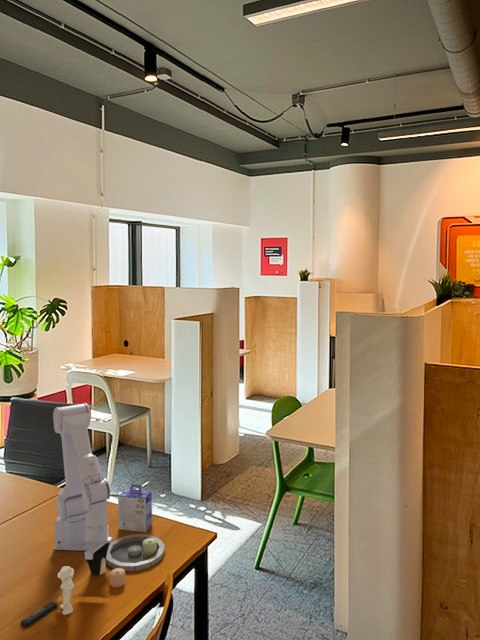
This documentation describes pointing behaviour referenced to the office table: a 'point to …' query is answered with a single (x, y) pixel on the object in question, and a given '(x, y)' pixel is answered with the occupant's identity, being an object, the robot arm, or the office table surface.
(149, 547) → the bead olive
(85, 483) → the robot arm
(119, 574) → the bead terracotta
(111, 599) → the office table surface
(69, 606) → the hat wearing toy figure
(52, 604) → the usb stick
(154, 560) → the tray
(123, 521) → the ink cartridge box
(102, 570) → the bead cream
